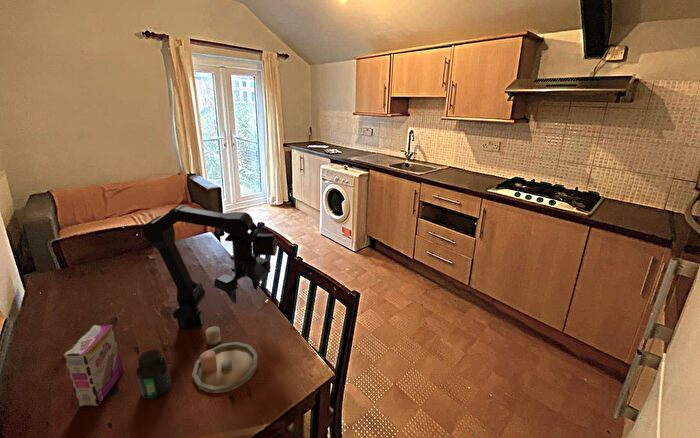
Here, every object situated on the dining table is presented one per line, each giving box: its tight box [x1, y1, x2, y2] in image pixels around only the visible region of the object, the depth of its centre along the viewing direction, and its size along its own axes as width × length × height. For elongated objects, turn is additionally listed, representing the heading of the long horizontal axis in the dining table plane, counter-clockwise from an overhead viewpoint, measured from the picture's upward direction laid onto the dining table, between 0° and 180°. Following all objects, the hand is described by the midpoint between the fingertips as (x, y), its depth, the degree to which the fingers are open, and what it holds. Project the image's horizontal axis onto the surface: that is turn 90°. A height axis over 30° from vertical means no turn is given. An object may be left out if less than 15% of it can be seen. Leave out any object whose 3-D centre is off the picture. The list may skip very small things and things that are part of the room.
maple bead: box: [205, 325, 222, 346], centre depth 102 cm, size 4×4×5 cm
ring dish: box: [191, 341, 259, 394], centre depth 93 cm, size 17×17×2 cm
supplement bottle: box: [136, 348, 172, 401], centre depth 84 cm, size 7×7×12 cm
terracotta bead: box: [199, 349, 217, 375], centre depth 91 cm, size 4×4×5 cm
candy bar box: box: [63, 324, 124, 407], centre depth 83 cm, size 11×5×16 cm, turn 5°
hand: (245, 295), depth 106 cm, fingers open, 9 cm apart
